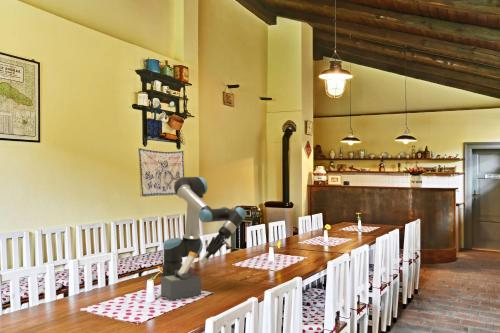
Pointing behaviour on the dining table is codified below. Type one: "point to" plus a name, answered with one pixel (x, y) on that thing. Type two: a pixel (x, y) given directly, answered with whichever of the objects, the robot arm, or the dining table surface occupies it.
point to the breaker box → (180, 286)
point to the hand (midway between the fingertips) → (201, 262)
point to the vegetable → (191, 271)
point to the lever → (187, 263)
